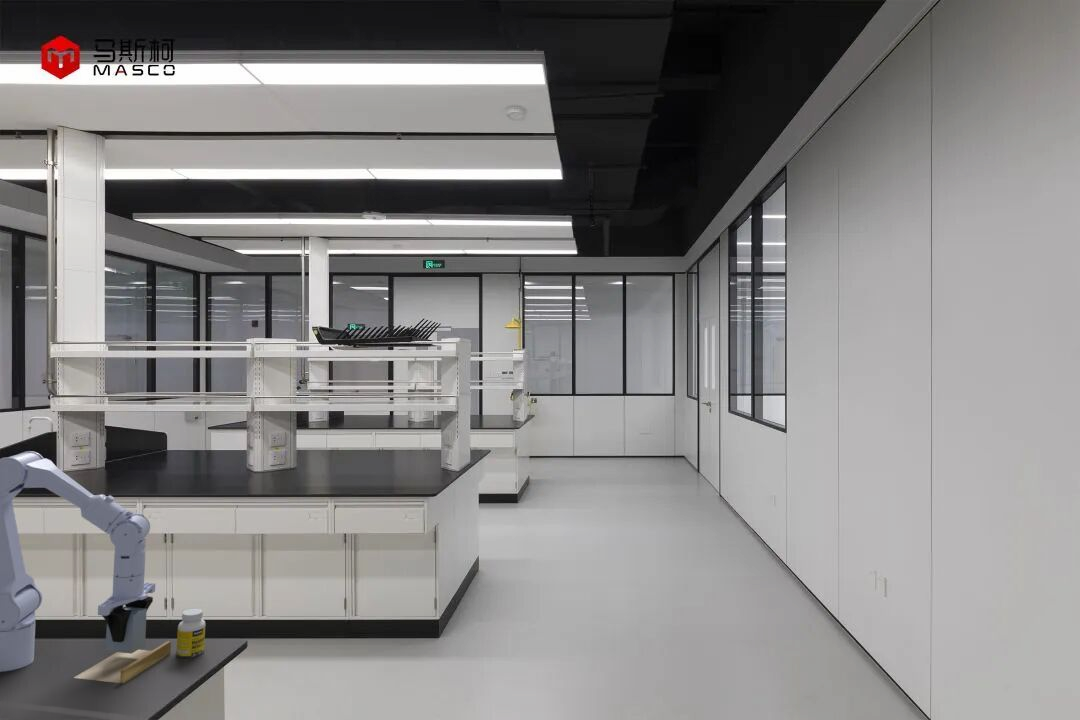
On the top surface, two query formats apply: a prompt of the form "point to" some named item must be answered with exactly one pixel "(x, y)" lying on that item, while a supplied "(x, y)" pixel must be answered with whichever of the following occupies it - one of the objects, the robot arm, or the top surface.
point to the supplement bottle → (191, 634)
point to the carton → (130, 633)
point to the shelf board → (125, 665)
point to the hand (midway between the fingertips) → (126, 636)
